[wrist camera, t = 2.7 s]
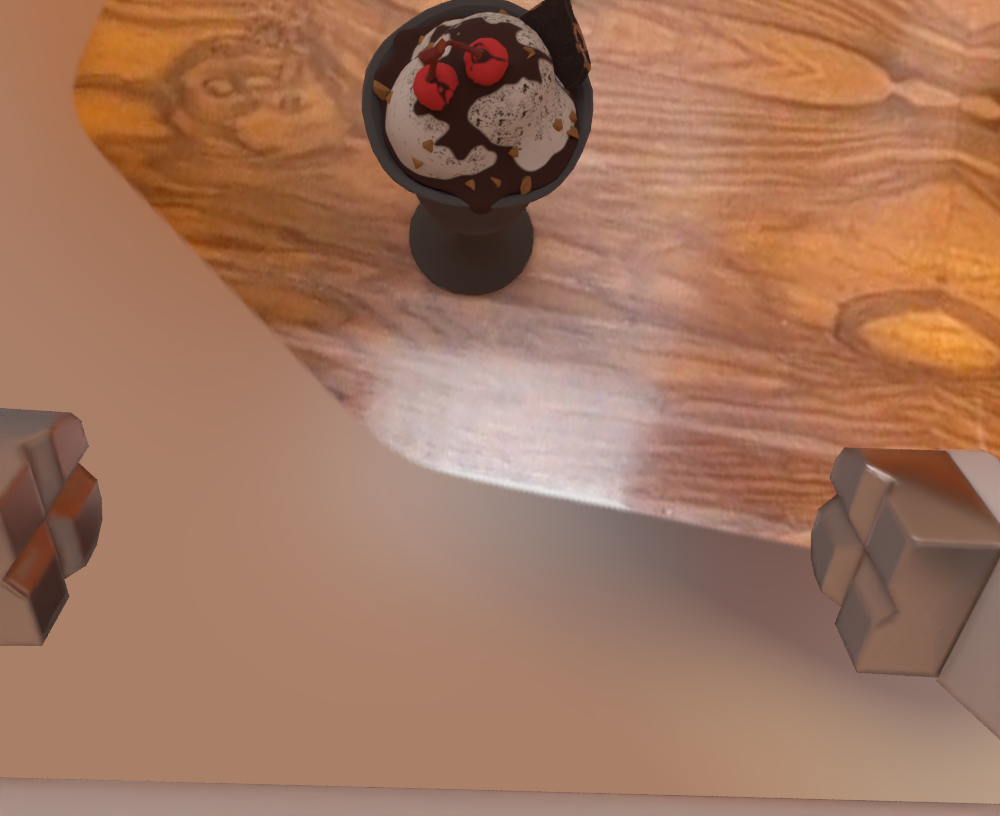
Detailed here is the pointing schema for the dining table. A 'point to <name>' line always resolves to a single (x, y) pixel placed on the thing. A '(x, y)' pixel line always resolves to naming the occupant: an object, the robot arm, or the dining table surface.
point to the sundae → (479, 129)
